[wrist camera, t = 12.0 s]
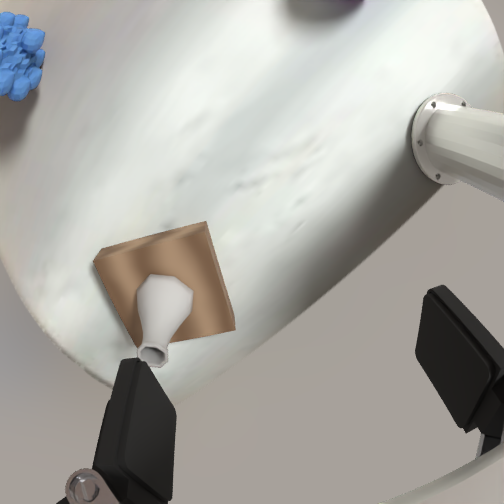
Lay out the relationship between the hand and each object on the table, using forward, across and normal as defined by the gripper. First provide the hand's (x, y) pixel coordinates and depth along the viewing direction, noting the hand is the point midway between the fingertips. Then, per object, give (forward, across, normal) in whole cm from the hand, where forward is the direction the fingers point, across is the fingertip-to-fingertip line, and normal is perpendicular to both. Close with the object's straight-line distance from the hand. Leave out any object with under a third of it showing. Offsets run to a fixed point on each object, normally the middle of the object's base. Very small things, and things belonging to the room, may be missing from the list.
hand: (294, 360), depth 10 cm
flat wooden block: (+29, +12, +12) cm, 34 cm away
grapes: (+28, +19, -21) cm, 40 cm away
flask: (+25, +12, +12) cm, 31 cm away
